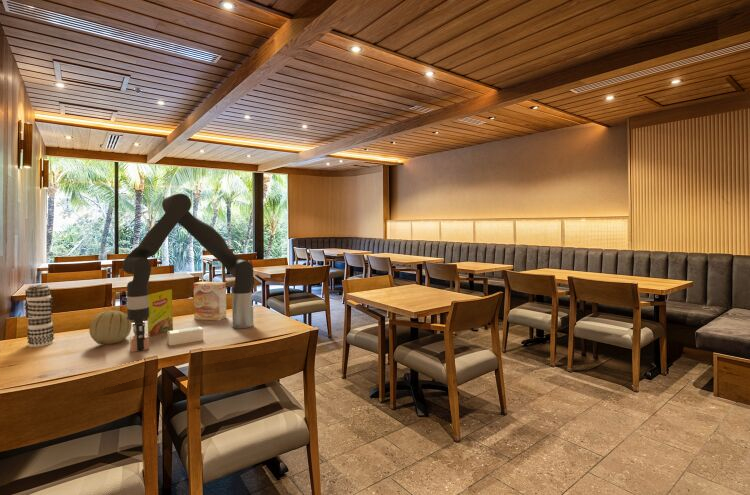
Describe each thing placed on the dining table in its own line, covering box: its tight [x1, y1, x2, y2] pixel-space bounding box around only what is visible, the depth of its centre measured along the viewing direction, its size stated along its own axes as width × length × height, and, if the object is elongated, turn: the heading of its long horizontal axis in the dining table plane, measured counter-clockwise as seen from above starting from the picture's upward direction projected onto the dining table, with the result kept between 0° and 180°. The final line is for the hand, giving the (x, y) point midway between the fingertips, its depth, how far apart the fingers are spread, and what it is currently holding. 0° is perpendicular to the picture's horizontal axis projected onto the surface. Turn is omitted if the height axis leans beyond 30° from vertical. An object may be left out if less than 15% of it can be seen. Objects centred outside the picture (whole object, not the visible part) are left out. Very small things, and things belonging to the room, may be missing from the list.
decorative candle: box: [24, 284, 55, 348], centre depth 164 cm, size 9×9×25 cm
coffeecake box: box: [193, 281, 227, 321], centre depth 207 cm, size 15×7×20 cm, turn 80°
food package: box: [147, 289, 174, 338], centre depth 177 cm, size 15×1×20 cm, turn 168°
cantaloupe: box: [88, 307, 133, 346], centre depth 164 cm, size 15×15×15 cm
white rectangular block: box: [166, 326, 204, 346], centre depth 165 cm, size 13×5×5 cm, turn 126°
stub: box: [129, 333, 150, 353], centre depth 155 cm, size 6×5×5 cm
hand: (139, 347), depth 155 cm, fingers open, 6 cm apart
